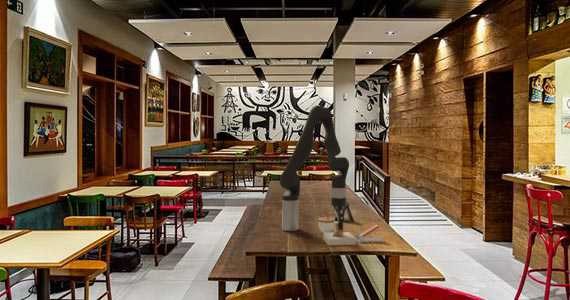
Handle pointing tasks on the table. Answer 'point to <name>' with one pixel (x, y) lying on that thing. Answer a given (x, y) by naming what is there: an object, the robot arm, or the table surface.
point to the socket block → (339, 239)
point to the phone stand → (347, 213)
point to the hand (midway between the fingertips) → (338, 227)
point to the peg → (337, 230)
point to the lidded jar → (326, 224)
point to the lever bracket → (367, 239)
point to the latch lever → (369, 231)
